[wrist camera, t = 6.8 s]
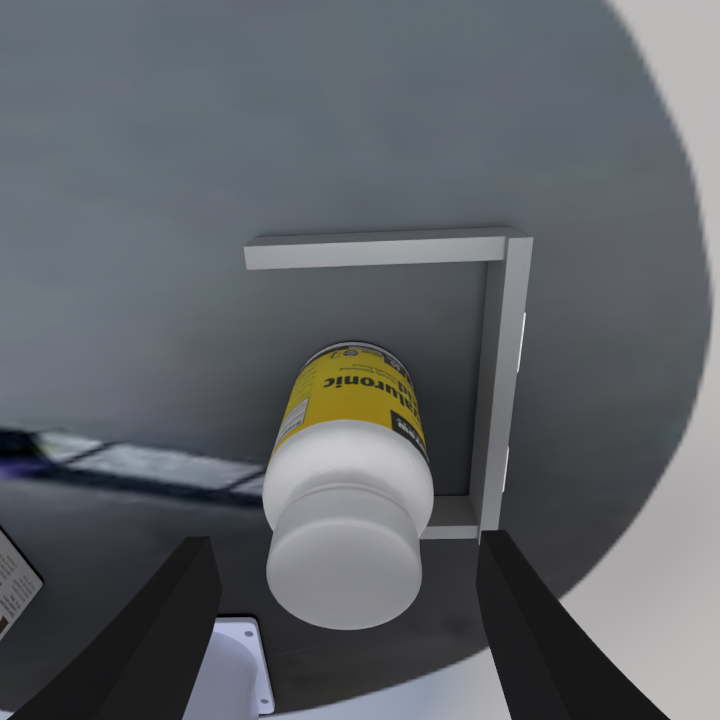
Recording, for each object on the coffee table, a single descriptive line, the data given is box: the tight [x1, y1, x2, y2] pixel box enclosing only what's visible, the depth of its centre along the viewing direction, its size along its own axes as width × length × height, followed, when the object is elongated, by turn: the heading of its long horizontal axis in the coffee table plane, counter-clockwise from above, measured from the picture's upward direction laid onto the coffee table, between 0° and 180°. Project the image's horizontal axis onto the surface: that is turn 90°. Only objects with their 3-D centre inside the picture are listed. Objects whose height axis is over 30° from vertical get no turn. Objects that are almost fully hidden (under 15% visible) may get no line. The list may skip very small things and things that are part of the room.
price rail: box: [244, 226, 534, 545], centre depth 19 cm, size 14×10×2 cm
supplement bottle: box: [262, 342, 434, 630], centre depth 16 cm, size 5×5×10 cm
